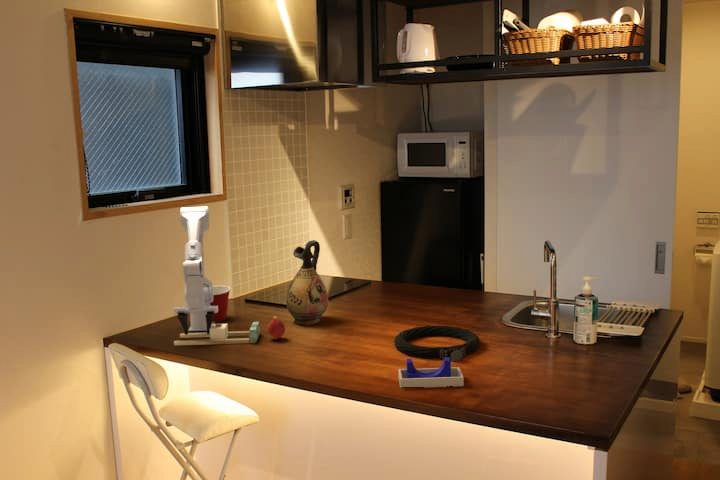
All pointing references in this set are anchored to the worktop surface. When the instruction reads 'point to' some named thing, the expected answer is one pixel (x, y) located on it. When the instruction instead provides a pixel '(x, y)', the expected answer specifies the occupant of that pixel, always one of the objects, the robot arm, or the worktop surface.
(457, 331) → the cable lock
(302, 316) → the ceramic jug
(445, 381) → the shallow grey tray
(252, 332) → the guide rail
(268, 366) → the worktop surface
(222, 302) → the plastic cup
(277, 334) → the onion
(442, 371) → the blue saddle holder
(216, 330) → the block
